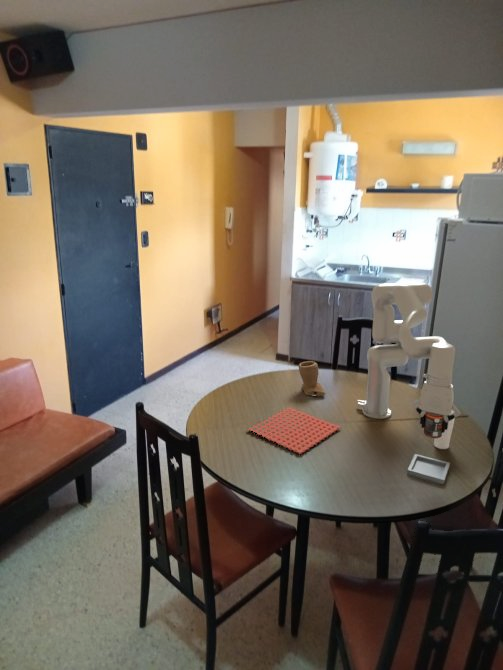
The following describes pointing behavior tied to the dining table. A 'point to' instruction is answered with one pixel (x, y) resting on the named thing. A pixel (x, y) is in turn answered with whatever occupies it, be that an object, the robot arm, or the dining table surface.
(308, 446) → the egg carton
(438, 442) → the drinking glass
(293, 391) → the dining table surface
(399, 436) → the dining table surface
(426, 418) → the supplement bottle
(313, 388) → the tan boot-shaped piece
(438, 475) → the tray
